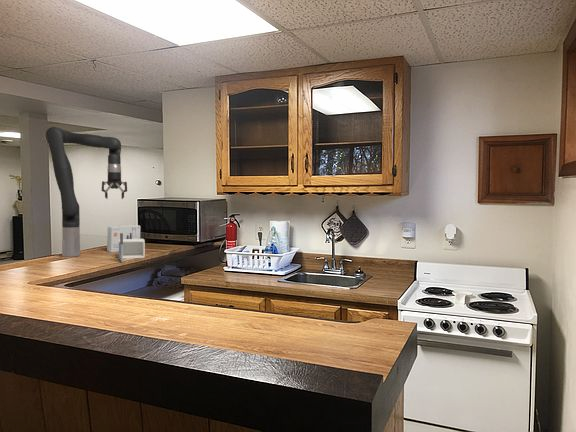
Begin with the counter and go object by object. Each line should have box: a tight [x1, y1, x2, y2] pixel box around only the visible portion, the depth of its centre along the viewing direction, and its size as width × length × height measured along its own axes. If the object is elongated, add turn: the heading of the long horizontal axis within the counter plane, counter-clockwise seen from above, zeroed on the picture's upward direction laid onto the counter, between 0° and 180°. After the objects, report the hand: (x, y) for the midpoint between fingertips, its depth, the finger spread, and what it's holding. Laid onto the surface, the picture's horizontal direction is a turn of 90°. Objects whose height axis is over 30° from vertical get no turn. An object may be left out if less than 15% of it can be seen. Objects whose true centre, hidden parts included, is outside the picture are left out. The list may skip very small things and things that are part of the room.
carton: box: [119, 238, 146, 259], centre depth 263 cm, size 14×10×10 cm
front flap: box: [118, 233, 124, 263], centre depth 248 cm, size 14×1×16 cm, turn 27°
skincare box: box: [106, 224, 141, 253], centre depth 286 cm, size 21×5×16 cm, turn 143°
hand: (114, 198), depth 264 cm, fingers open, 8 cm apart
